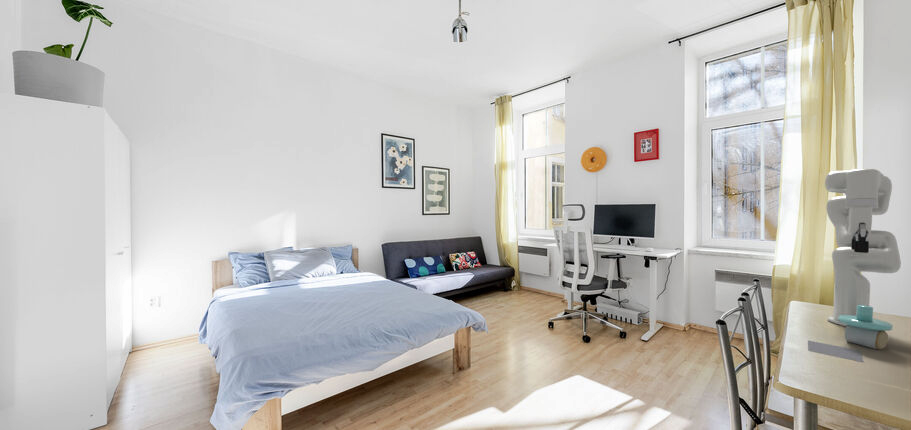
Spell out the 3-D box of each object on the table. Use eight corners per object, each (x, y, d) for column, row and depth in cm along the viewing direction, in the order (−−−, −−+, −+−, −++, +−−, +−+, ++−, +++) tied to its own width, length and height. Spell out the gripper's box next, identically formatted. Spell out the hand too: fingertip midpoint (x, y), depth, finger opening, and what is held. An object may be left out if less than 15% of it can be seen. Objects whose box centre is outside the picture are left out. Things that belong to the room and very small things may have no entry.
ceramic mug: (878, 352, 113) (879, 329, 113) (843, 343, 121) (844, 321, 120) (893, 348, 117) (894, 326, 117) (858, 339, 124) (859, 318, 124)
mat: (807, 341, 122) (807, 340, 122) (859, 351, 114) (859, 350, 114) (808, 351, 114) (808, 350, 114) (863, 363, 105) (863, 362, 105)
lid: (837, 316, 127) (838, 299, 127) (889, 324, 118) (890, 306, 118) (839, 324, 119) (839, 306, 118) (895, 333, 110) (895, 314, 110)
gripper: (843, 203, 131) (841, 247, 132) (847, 203, 119) (845, 252, 120) (874, 203, 126) (872, 249, 126) (881, 203, 114) (879, 254, 114)
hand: (859, 251), depth 123 cm, fingers open, 9 cm apart
